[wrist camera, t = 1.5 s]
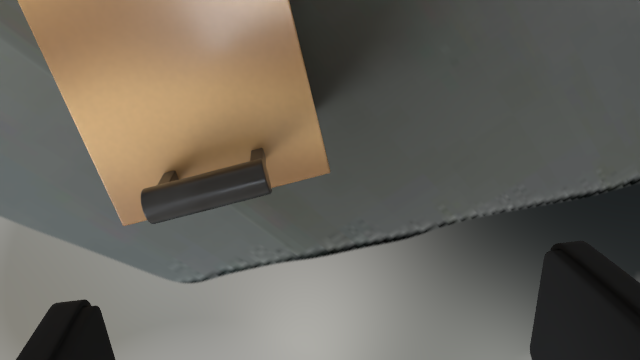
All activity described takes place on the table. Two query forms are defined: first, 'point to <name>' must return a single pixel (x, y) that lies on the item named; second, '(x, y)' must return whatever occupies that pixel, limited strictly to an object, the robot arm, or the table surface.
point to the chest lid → (183, 98)
